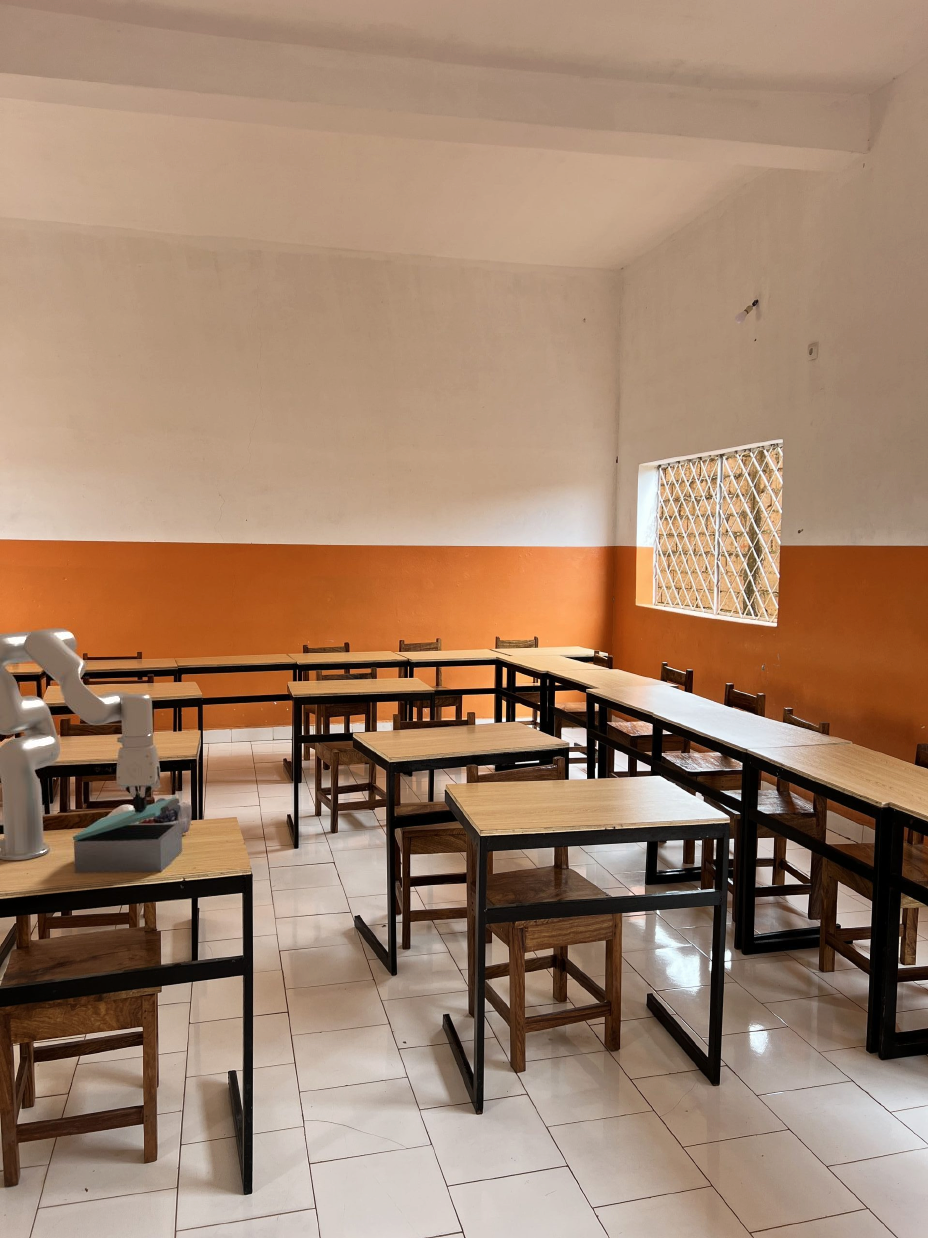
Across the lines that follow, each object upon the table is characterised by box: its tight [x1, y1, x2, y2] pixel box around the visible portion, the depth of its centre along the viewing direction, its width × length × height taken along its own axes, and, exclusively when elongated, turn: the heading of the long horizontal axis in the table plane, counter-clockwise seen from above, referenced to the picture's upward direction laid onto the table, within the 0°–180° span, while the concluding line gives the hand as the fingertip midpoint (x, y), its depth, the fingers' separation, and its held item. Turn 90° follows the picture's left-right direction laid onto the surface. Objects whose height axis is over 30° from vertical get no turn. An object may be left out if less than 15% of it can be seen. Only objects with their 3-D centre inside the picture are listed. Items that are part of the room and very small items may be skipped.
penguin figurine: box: [101, 804, 134, 819], centre depth 263 cm, size 6×8×12 cm
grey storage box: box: [73, 823, 183, 874], centre depth 236 cm, size 22×16×8 cm
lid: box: [72, 796, 180, 842], centre depth 236 cm, size 24×16×1 cm, turn 89°
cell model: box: [132, 797, 192, 835], centre depth 256 cm, size 13×11×20 cm
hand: (140, 811), depth 236 cm, fingers closed
